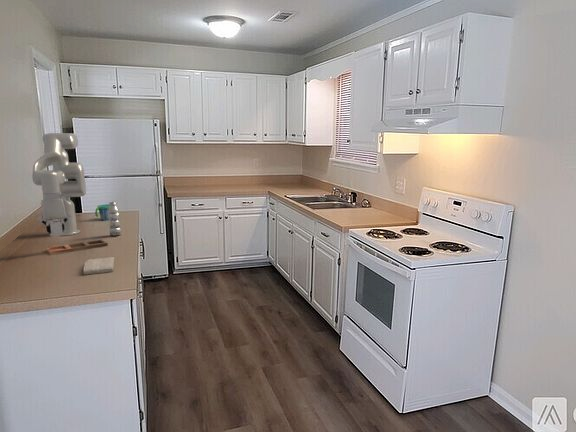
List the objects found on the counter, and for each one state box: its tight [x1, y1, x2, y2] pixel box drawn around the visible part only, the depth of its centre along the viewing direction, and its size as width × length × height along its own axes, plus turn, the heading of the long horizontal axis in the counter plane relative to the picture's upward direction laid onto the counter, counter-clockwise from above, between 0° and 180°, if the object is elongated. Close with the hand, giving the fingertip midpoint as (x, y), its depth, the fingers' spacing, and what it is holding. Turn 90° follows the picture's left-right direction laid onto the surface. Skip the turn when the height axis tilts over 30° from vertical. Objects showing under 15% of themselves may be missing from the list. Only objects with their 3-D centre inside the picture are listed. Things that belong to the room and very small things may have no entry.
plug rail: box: [45, 238, 109, 256], centre depth 212 cm, size 11×27×2 cm, turn 130°
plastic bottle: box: [107, 201, 122, 237], centre depth 237 cm, size 6×7×20 cm
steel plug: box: [49, 219, 63, 238], centre depth 204 cm, size 5×5×7 cm
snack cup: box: [94, 203, 110, 221], centre depth 287 cm, size 16×10×10 cm
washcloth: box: [83, 256, 116, 276], centre depth 179 cm, size 12×18×3 cm, turn 22°
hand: (56, 232), depth 204 cm, fingers closed on steel plug, 5 cm apart
